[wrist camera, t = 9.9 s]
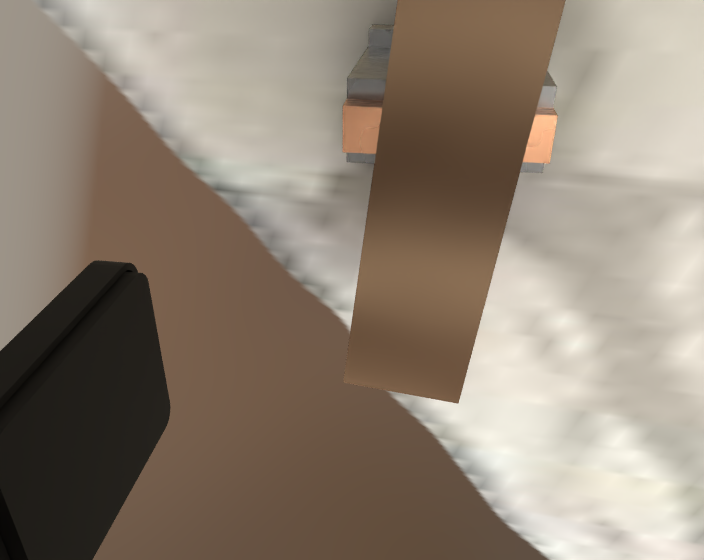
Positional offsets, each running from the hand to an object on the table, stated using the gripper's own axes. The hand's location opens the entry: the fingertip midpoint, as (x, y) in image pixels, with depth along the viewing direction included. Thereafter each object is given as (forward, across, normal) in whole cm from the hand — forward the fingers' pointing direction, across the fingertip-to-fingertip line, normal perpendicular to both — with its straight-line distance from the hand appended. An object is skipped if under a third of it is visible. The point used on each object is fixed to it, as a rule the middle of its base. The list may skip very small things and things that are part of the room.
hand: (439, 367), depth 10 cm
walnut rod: (+13, 0, 0) cm, 13 cm away
